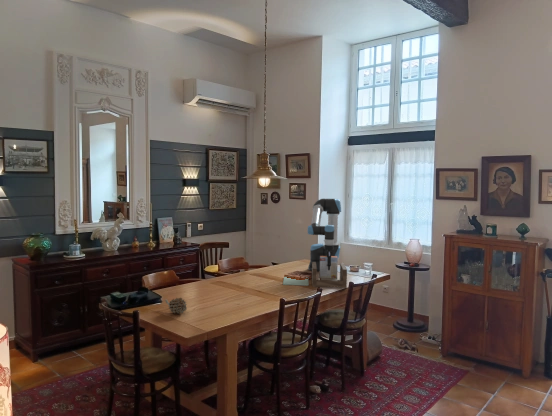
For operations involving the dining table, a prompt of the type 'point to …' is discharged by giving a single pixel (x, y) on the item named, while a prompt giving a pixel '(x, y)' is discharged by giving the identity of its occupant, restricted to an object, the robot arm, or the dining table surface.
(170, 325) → the dining table surface
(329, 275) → the cracker box
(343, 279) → the walnut rack
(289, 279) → the sage mat
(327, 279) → the upper offcut
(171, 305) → the pine cone
